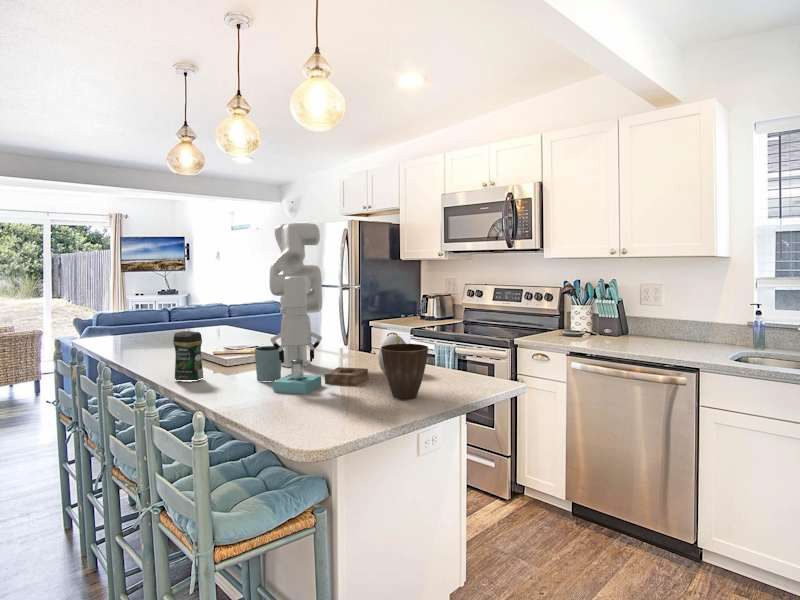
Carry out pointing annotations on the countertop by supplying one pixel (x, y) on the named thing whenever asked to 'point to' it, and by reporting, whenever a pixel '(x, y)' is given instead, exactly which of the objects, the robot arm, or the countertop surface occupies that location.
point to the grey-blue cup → (267, 363)
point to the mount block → (346, 376)
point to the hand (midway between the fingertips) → (297, 361)
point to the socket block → (297, 384)
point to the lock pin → (297, 369)
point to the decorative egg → (388, 341)
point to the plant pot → (404, 368)
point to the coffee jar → (188, 355)
